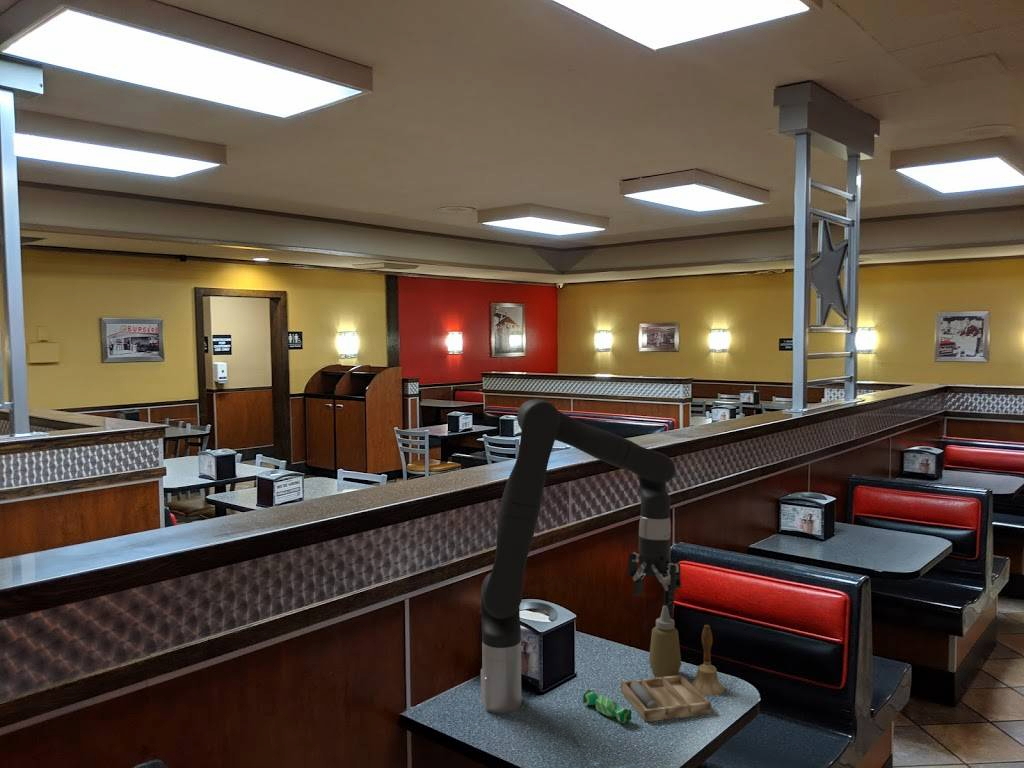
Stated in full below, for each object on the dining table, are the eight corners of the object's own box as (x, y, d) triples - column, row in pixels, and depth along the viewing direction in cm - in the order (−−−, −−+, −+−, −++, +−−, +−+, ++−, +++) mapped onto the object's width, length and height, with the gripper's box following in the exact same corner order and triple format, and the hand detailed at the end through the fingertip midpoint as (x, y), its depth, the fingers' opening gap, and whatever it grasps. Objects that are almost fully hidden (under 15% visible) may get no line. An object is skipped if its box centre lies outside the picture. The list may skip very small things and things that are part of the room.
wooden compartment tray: (644, 721, 166) (644, 711, 166) (620, 691, 181) (620, 681, 181) (710, 713, 170) (710, 703, 170) (681, 684, 185) (681, 674, 184)
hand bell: (725, 698, 177) (726, 632, 176) (690, 695, 179) (690, 630, 178) (723, 682, 185) (723, 620, 185) (688, 680, 187) (689, 617, 186)
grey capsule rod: (649, 714, 168) (649, 703, 168) (628, 689, 180) (628, 679, 180) (659, 712, 169) (659, 702, 168) (638, 688, 181) (638, 678, 181)
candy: (631, 723, 167) (631, 705, 166) (620, 728, 165) (620, 709, 164) (593, 703, 176) (593, 686, 176) (583, 707, 174) (583, 690, 174)
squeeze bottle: (647, 680, 187) (647, 610, 186) (650, 667, 195) (650, 599, 194) (679, 684, 184) (680, 613, 184) (682, 671, 192) (682, 602, 191)
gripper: (621, 531, 183) (620, 596, 184) (669, 543, 172) (667, 612, 173) (640, 526, 188) (639, 589, 189) (688, 538, 178) (686, 605, 178)
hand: (652, 600), depth 181 cm, fingers open, 8 cm apart
